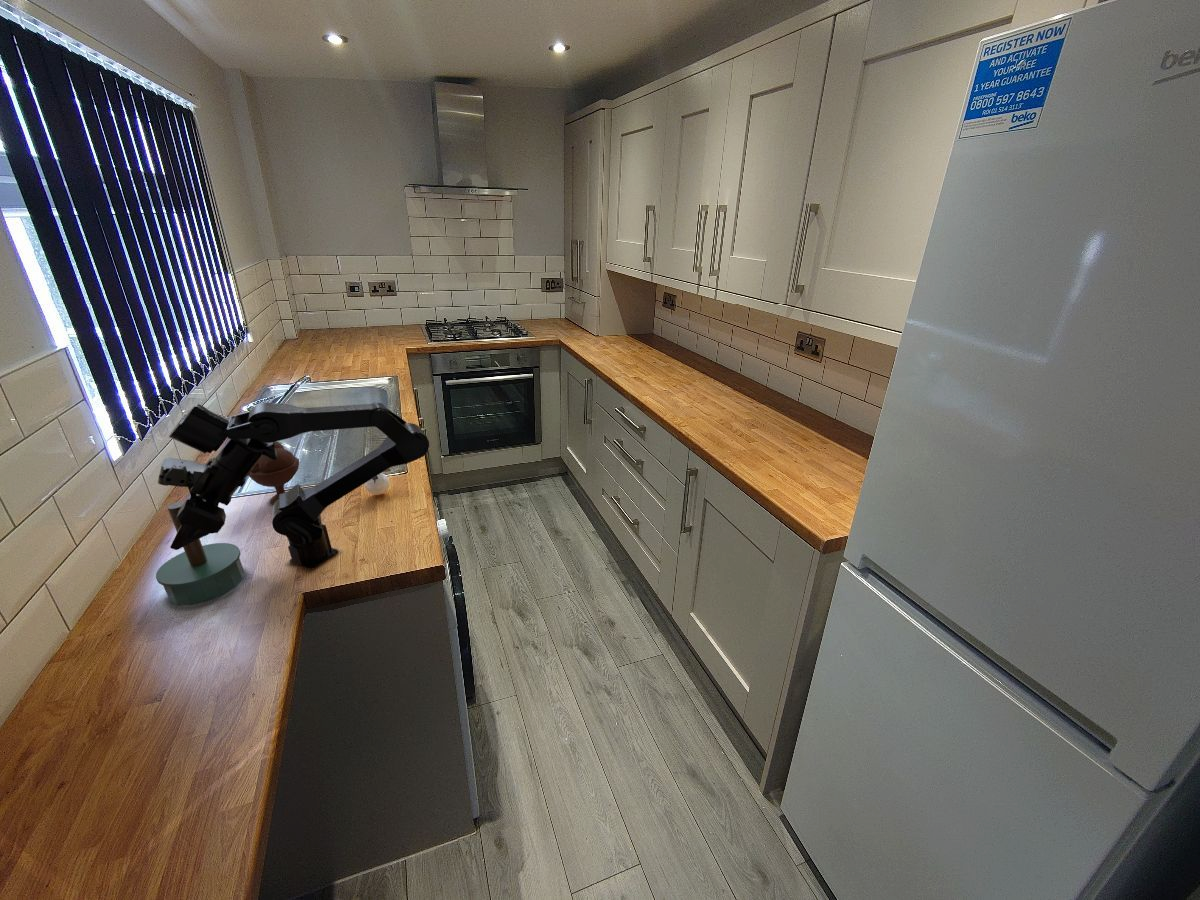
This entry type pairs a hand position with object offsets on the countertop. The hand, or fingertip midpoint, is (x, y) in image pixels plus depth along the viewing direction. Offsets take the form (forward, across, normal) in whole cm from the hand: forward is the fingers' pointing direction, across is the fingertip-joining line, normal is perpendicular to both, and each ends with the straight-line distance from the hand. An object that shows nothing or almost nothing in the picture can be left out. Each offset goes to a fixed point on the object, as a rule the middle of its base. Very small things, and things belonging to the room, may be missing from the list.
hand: (177, 535), depth 92 cm
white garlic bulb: (-19, -22, +31) cm, 42 cm away
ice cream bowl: (-1, -31, +18) cm, 36 cm away
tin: (+7, 0, +9) cm, 12 cm away
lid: (+4, 0, +6) cm, 7 cm away
